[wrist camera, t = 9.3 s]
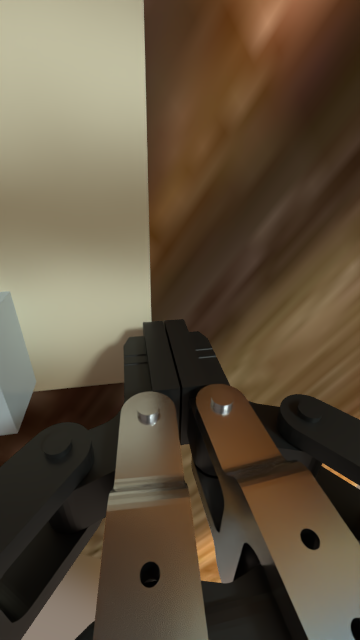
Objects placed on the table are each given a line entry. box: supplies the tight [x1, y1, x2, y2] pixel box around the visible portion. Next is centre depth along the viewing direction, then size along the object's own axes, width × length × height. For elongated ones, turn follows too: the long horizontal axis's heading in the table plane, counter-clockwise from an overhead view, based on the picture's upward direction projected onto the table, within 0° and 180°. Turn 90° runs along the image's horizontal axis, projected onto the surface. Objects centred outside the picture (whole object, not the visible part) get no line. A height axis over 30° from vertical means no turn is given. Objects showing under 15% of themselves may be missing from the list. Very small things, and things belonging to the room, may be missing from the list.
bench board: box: [0, 0, 151, 391], centre depth 9 cm, size 14×9×3 cm, turn 178°
